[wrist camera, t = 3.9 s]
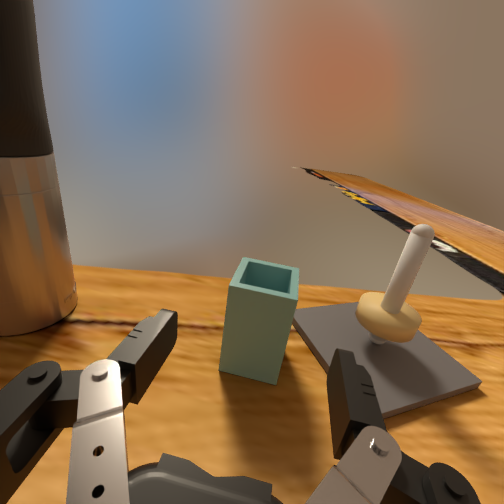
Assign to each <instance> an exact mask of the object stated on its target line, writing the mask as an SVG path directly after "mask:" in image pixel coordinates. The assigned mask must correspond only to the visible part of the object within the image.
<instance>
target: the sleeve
mask: <svg viewBox="0 0 504 504" xmlns="http://www.w3.org/2000/svg"><path fill="white" fill-rule="evenodd" d="M298 284H299V268H294V267H290V266H285V265H280V264H275V263H270V262H265V261H260V260H256V259H251V258H246V257H243V259H242V261H241V263H240V265H239V266H238V268H237V270H236V272H235V274H234V276H233V278H232V280H231V282H230V284H229V289H228V297H227V306H226V314H225V322H224V331H223V339H222V347H221V355H220V364H219V371H223V372H227V373H230V374H234V375H238V376H242V377H246V378H250V379H254V380H258V381H262V382H266V383H269V384H273V385H276V384H277V380H278V376H279V372H280V368H281V364H282V360H283V357H284V353H285V349H286V345H287V341H288V337H289V333H290V329H291V325H292V321H293V317H294V313H295V309H296V306H297V302H298Z"/></svg>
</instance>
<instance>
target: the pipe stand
mask: <svg viewBox="0 0 504 504" xmlns="http://www.w3.org/2000/svg"><path fill="white" fill-rule="evenodd" d="M434 234H435V233H434V230H433V228H432V227H431V226H429V225H427V224H419V225H417V226H415V227H414V228H413V229H412V230H411V233H410V235H409V237H408V240H407V242H406V245H405V247H404V249H403V252H402V254H401V257H400V259H399V262H398V264H397V266H396V269H395V271H394V274H393V276H392V278H391V281H390V284H389V286H388V288H387V290H386V293H385V294H384V293H378V292H368V293H365V294H363V295H362V296H361V298H360V301H359V302H354V303H346V304H337V305H328V306H320V307H311V308H302V309H295V313H294V317H293V321H292V324H293V325H294V327H295V328H296V330H297V331H298V332H299V334H300V335H301V337H302V338H303V340H304V341H305V343H306V344H307V345H308V347H309V348H310V350H311V351H312V353H313V354H314V355H315V357H316V358H317V360H318V361H319V363H320V364H321V366H322V367H323V368H324V370H325V371H326V373H327V374H328V370H329V367H330V364H331V361H332V358H333V355H334V352H335V350H336V348H339V349H343V350H347V351H352V352H353V353H354V356H355V360H356V364H358V365H362V366H364V367H365V369H366V370H367V371H368V373H369V374H370V376H371V378H372V382H373V385H374V389H375V392H376V397H377V399H378V403H379V406H380V410H381V413H382V417H383V419H385V418H388V417H391V416H394V415H397V414H400V413H403V412H406V411H409V410H412V409H415V408H418V407H421V406H424V405H427V404H430V403H433V402H436V401H439V400H442V399H445V398H448V397H451V396H454V395H457V394H460V393H463V392H466V391H469V390H473V389H476V388H478V387H479V385H480V384H481V383H482V381H481V380H480V379H479V378H477V377H476V376H475V375H474V374H472V373H471V372H470V371H469V370H467V369H466V368H465V367H464V366H462V365H461V364H460V363H459V362H457V361H456V360H455V359H454V358H452V357H451V356H450V355H449V354H447V353H446V352H445V351H444V350H442V349H441V348H440V347H439V346H437V345H436V344H435V343H434V342H432V341H431V340H430V339H429V338H427V337H426V336H425V335H424V334H422V333H421V332H420V331H419V330H418V328H419V326H420V324H421V322H422V320H421V316H420V315H419V313H418V312H417V311H416V310H415V309H414V308H413V307H412V306H410V305H409V304H407V303H406V302H404V301H405V299H406V297H407V295H408V293H409V290H410V288H411V286H412V284H413V282H414V279H415V277H416V275H417V273H418V271H419V269H420V266H421V264H422V262H423V260H424V258H425V256H426V253H427V251H428V249H429V247H430V245H431V242H432V240H433V238H434Z"/></svg>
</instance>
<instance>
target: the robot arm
mask: <svg viewBox="0 0 504 504" xmlns="http://www.w3.org/2000/svg"><path fill="white" fill-rule="evenodd" d="M77 300H78V298H77V292H76V283H75V279H74V273H73V267H72V261H71V255H70V248H69V242H68V236H67V230H66V224H65V218H64V212H63V206H62V200H61V194H60V187H59V181H58V175H57V170H56V163H55V157H54V153H53V145H52V140H51V134H50V130H49V125H48V119H47V113H46V107H45V101H44V94H43V88H42V80H41V72H40V63H39V54H38V44H37V34H36V24H35V14H34V6H33V0H0V336H9V335H19V334H24V333H28V332H32V331H36V330H39V329H42V328H45V327H47V326H49V325H52V324H54V323H56V322H57V321H59V320H61V319H63V318H64V317H65V316H67V315H68V314H69V313H70V312H71V311H72V310H73V309H74V308H75V306H76V304H77ZM177 319H178V314H177V312H175V311H171V310H166V309H161V310H160V311H159V312H158V313H157V315H156V316H155V317H150V316H149V317H147V318H146V319H144V320H142V321H140V322H139V323H138V324H137V326H136V327H135V328H134V329H133V331H131V332H130V333H129V334H128V336H127V337H126V338H125V339H124V340H123V341H122V342H121V343H120V344H119V345H118V346H117V348H116V349H115V350H114V351H113V352H112V353H111V354H110V355H109V356H108V358H107V359H105V360H99V361H96V362H94V363H92V364H90V365H89V366H87V367H86V368H85V369H84V370H69V371H61V368H60V365H59V364H58V363H57V362H54V361H42V362H38V363H35V364H33V365H31V366H29V367H27V368H26V369H24V370H23V371H22V372H21V373H19V374H18V375H17V376H16V377H15V378H14V379H13V380H11V381H10V382H9V383H8V384H7V385H6V386H5V387H4V388H2V389H1V390H0V504H6V503H7V502H8V501H9V499H10V498H11V497H12V495H13V494H14V493H15V491H16V490H17V489H18V488H19V486H20V485H21V484H22V482H23V481H24V480H25V478H26V477H27V476H28V474H29V473H30V472H31V471H32V469H33V468H34V467H35V465H36V464H37V463H38V461H39V460H40V459H41V458H42V456H43V455H44V454H45V452H46V451H47V450H48V448H49V447H50V446H51V444H52V443H53V442H54V441H55V439H56V438H57V437H58V435H59V434H60V433H61V431H62V430H63V429H64V428H68V427H73V430H72V441H71V453H70V464H69V476H68V487H67V498H66V504H283V503H282V502H280V501H279V500H278V499H277V498H276V497H274V496H273V495H271V492H272V484H270V483H266V482H263V481H259V480H256V479H252V478H249V477H245V476H236V477H214V476H212V475H210V474H209V473H207V472H206V471H204V470H203V469H201V468H200V467H198V466H197V465H195V464H194V463H192V462H191V461H189V460H186V459H183V458H179V457H176V456H172V455H169V454H165V453H163V454H162V456H161V458H160V461H159V462H155V463H149V464H145V465H142V466H139V467H137V468H135V469H133V470H131V471H129V467H128V455H127V443H126V430H125V418H124V409H125V408H126V406H127V405H128V403H129V402H130V403H134V404H138V403H139V401H140V400H141V398H142V397H143V395H144V393H145V392H146V390H147V389H148V387H149V386H150V384H151V382H152V381H153V379H154V378H155V376H156V374H157V373H158V371H159V370H160V368H161V366H162V365H163V363H164V362H165V360H166V359H167V357H168V355H169V354H170V352H171V351H172V349H173V347H174V345H175V343H176V339H177ZM327 393H328V403H329V413H330V424H331V434H332V444H333V455H334V458H335V459H338V460H340V461H339V463H338V464H337V465H336V466H335V465H334V466H333V467H332V468H331V469H330V471H329V472H328V473H327V475H326V476H325V477H324V479H323V480H322V481H321V483H320V484H319V485H318V487H317V488H316V489H315V491H314V492H313V493H312V495H311V496H310V498H309V499H308V500H307V502H306V503H305V504H481V503H480V501H479V499H478V496H477V494H476V492H475V490H474V489H473V487H472V486H471V484H470V483H469V482H468V481H467V479H466V478H465V477H464V476H463V475H462V474H461V473H459V472H458V471H457V470H455V469H454V468H452V467H451V466H449V465H446V464H444V463H433V464H432V465H431V466H430V467H429V468H428V467H427V466H425V465H423V464H421V463H420V462H418V461H416V460H414V459H413V458H411V457H409V456H408V455H406V454H405V453H403V452H402V451H401V450H400V448H399V445H398V444H397V442H396V441H395V439H394V438H393V437H392V436H391V435H390V434H389V433H387V430H386V427H385V423H384V420H383V417H382V413H381V410H380V406H379V403H378V399H377V397H376V392H375V389H374V385H373V382H372V378H371V376H370V374H369V373H368V371H367V370H366V369H365V367H364V366H362V365H358V364H356V360H355V356H354V353H353V352H352V351H347V350H343V349H339V348H336V350H335V352H334V355H333V358H332V361H331V364H330V367H329V370H328V374H327Z"/></svg>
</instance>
